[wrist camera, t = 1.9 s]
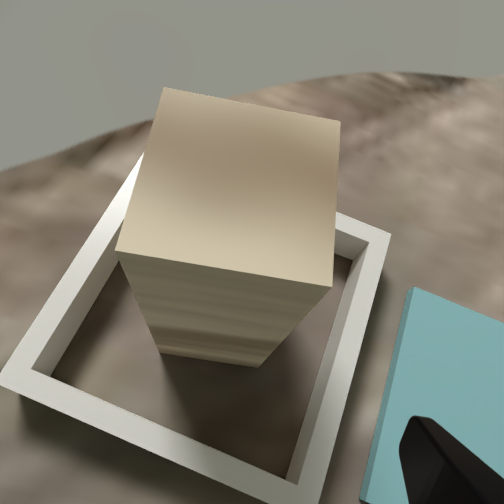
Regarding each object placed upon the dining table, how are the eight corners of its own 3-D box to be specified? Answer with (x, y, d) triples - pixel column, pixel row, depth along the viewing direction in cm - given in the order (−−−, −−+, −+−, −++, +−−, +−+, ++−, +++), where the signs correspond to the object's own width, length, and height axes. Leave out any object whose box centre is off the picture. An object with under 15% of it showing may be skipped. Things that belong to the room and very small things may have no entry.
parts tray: (298, 512, 18) (313, 522, 16) (18, 388, 19) (-6, 382, 17) (373, 252, 24) (391, 233, 22) (157, 164, 25) (153, 137, 23)
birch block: (257, 367, 21) (332, 287, 9) (159, 352, 20) (114, 250, 9) (269, 276, 23) (340, 121, 12) (179, 261, 23) (163, 87, 11)
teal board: (587, 598, 18) (603, 605, 18) (358, 498, 19) (365, 501, 18) (591, 366, 23) (604, 364, 22) (407, 290, 24) (414, 286, 23)
